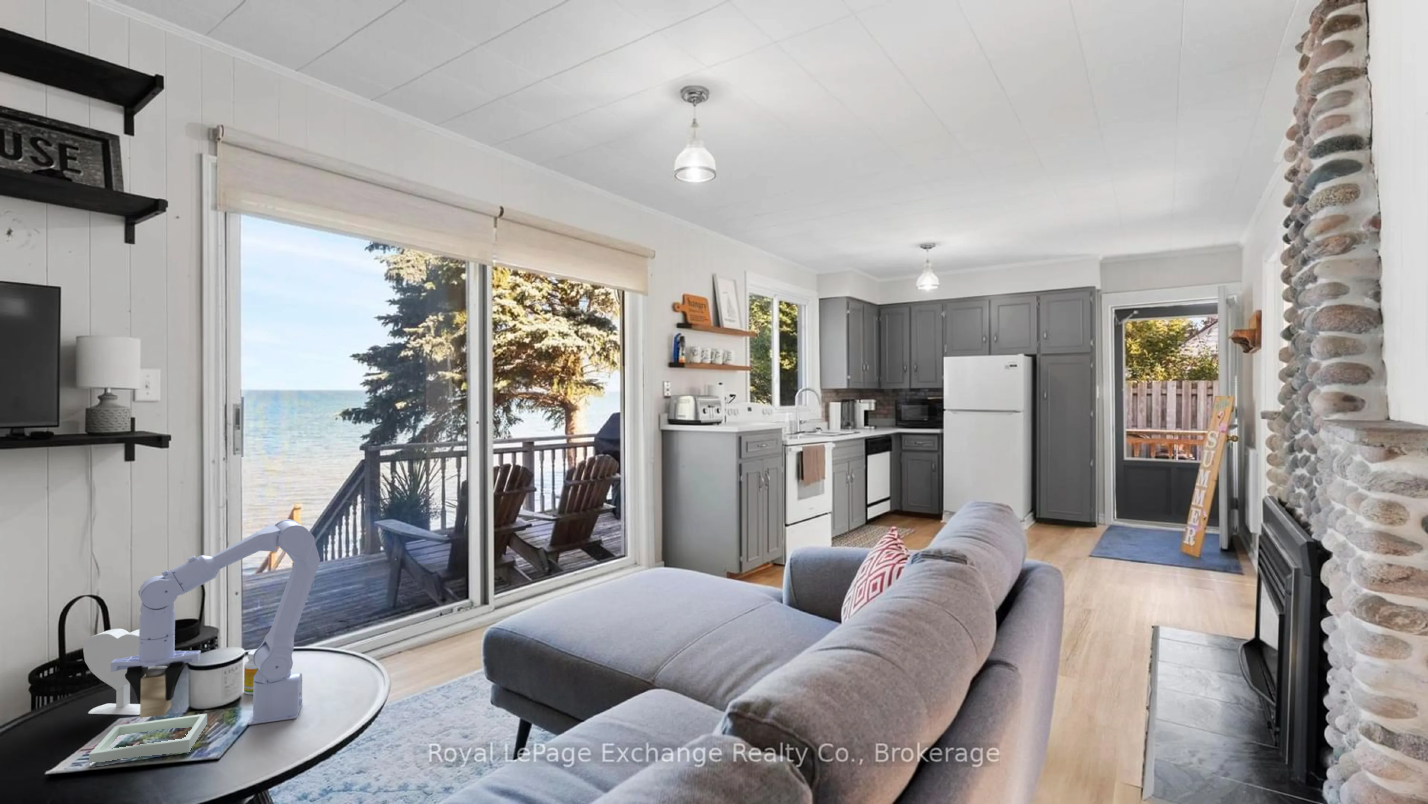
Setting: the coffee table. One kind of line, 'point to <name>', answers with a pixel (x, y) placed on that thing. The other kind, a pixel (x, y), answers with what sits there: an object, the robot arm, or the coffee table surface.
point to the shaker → (154, 693)
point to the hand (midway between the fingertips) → (156, 700)
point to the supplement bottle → (249, 673)
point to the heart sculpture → (99, 659)
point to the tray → (149, 749)
